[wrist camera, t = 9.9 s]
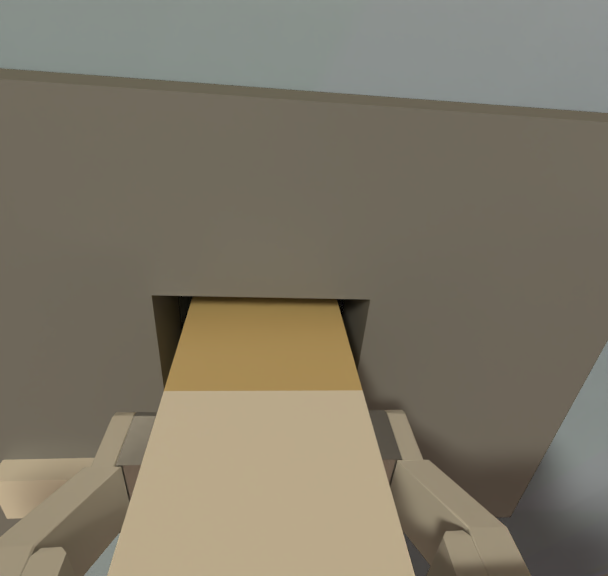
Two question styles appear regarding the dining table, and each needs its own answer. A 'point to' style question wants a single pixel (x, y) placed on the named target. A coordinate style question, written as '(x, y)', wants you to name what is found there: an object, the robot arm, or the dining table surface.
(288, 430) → the cream and tan block
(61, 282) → the socket
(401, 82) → the dining table surface
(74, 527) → the robot arm
